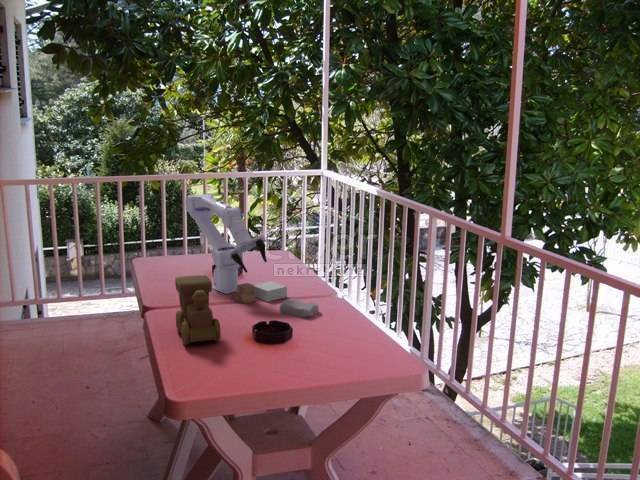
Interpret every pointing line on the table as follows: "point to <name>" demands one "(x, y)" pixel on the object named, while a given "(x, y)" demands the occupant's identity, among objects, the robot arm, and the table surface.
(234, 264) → the robot arm
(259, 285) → the plinth
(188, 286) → the wooden toy train
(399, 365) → the table surface
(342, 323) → the table surface
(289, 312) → the stone block
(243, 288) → the walnut block
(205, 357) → the table surface
